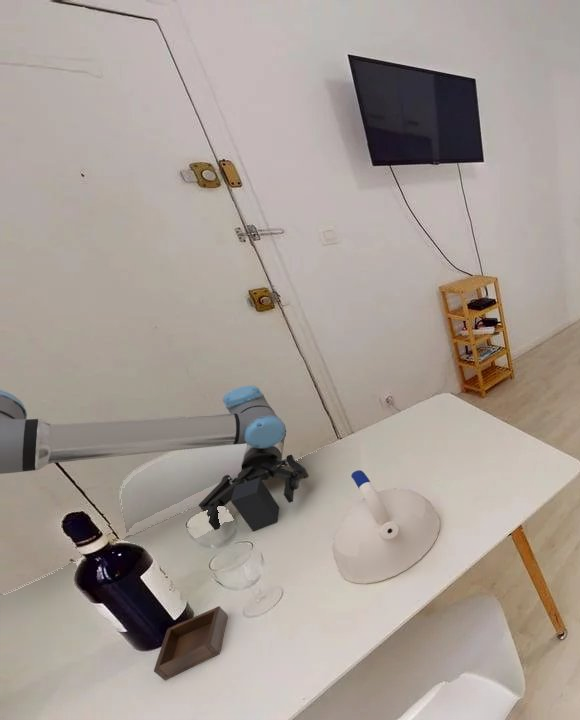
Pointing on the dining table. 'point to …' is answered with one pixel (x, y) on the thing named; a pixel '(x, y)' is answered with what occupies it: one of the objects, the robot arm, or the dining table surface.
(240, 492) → the dark gray block
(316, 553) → the dining table surface
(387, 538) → the white plastic funnel
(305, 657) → the dining table surface
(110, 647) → the dining table surface
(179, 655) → the tray
